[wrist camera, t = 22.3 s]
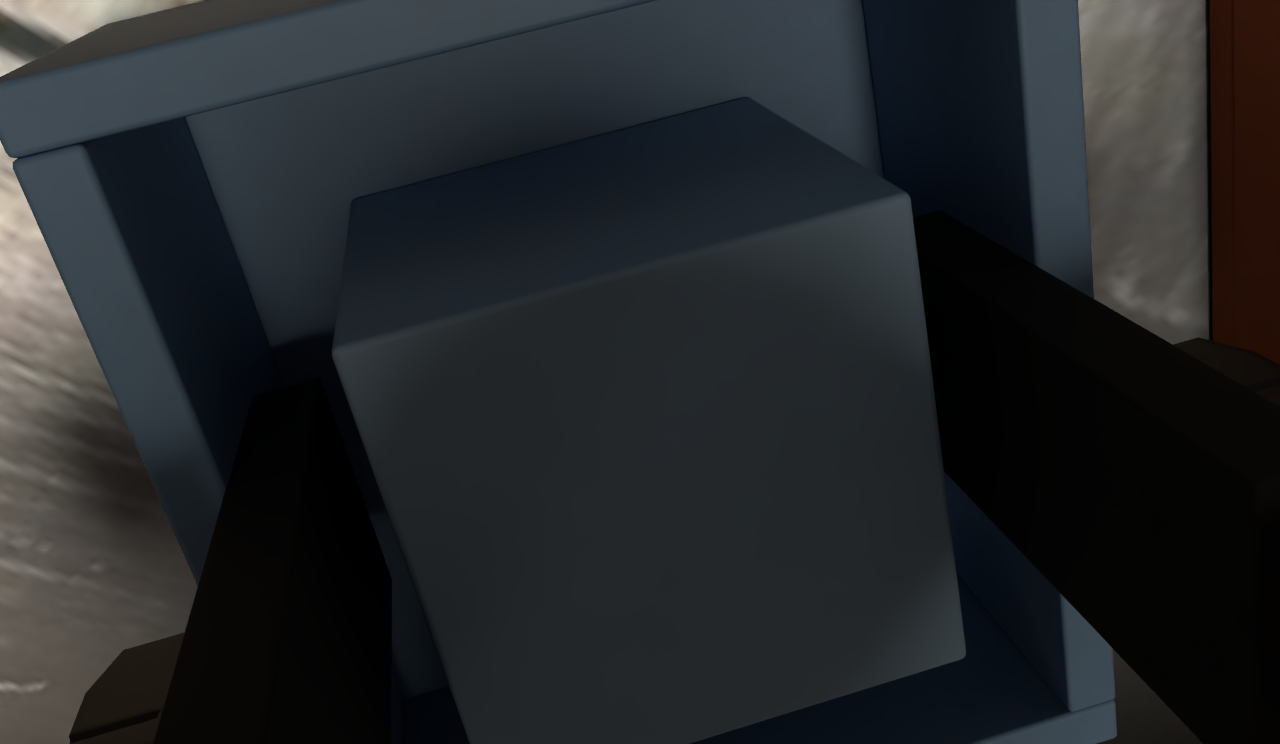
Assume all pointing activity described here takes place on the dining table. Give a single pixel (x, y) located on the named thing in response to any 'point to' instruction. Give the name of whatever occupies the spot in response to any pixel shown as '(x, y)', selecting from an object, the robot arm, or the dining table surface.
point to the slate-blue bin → (503, 129)
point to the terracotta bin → (1246, 174)
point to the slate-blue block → (655, 428)
